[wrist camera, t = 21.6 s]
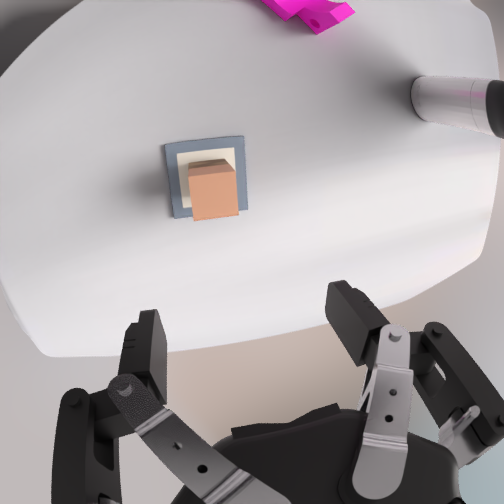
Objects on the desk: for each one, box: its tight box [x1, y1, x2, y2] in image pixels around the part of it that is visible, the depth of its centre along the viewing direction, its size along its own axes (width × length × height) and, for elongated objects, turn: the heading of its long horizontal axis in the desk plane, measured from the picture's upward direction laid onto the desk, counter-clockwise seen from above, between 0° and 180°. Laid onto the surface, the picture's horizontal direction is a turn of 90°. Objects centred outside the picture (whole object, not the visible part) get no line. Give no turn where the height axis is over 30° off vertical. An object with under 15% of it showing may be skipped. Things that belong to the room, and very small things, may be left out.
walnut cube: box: [188, 159, 229, 172], centre depth 36 cm, size 5×5×5 cm
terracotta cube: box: [188, 164, 239, 221], centre depth 31 cm, size 5×5×5 cm
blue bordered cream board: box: [165, 136, 248, 219], centre depth 38 cm, size 11×11×1 cm
